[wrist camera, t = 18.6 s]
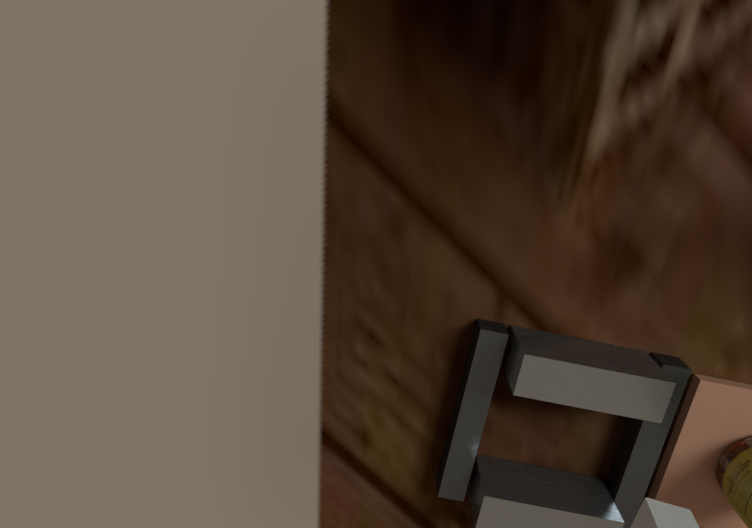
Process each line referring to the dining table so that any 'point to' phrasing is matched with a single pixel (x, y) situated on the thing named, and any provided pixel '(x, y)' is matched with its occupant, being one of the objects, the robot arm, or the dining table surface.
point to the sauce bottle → (737, 478)
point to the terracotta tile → (704, 450)
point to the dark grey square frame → (567, 387)
